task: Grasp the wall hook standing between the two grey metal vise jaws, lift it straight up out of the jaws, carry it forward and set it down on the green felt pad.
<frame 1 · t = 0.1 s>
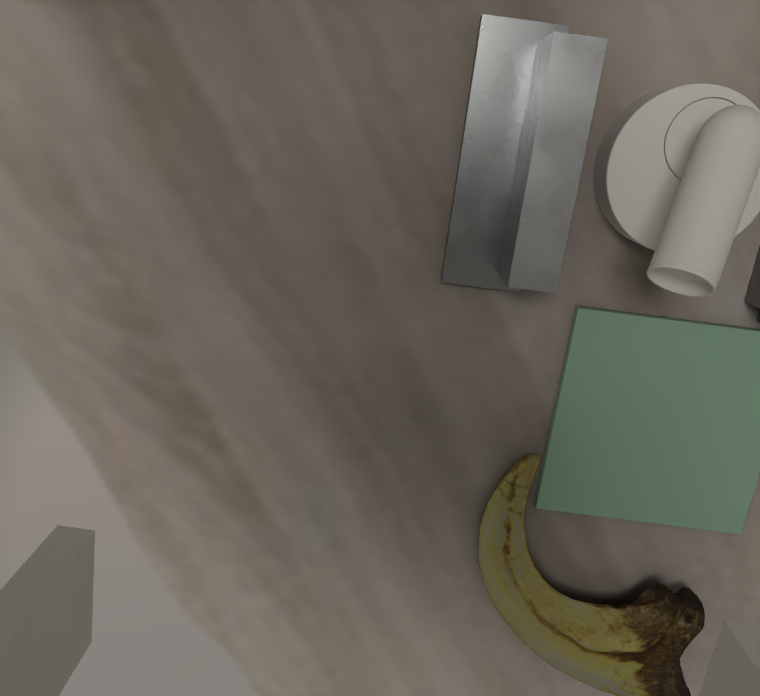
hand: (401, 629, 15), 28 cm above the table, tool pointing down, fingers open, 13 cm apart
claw: (582, 579, 46), on the table, touching felt pad
vise: (666, 181, 39), on the table
felt pad: (659, 422, 43), on the table
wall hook: (664, 181, 39), on the table
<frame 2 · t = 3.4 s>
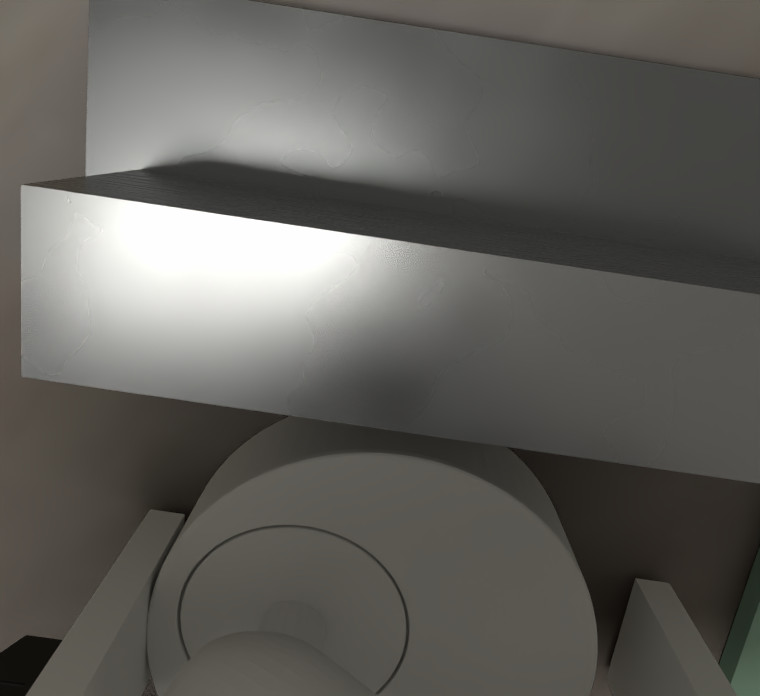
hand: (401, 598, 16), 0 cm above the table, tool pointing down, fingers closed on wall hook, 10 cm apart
vise: (401, 592, 16), on the table
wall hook: (402, 585, 16), on the table, touching gripper
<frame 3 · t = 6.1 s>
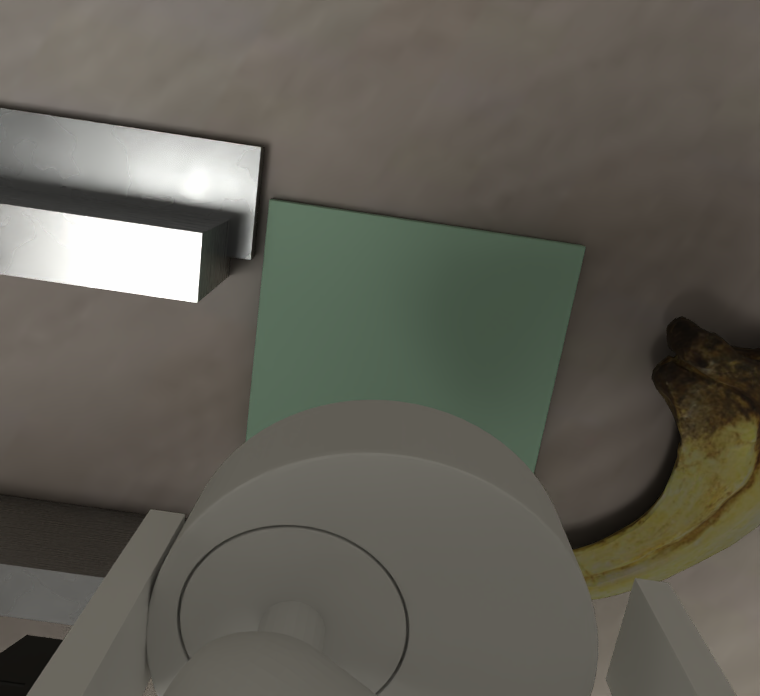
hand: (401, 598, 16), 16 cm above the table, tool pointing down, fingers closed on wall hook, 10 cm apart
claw: (644, 456, 32), on the table, touching felt pad
vise: (84, 387, 32), on the table
felt pad: (403, 369, 31), on the table
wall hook: (402, 585, 16), point 16 cm above the table, touching gripper
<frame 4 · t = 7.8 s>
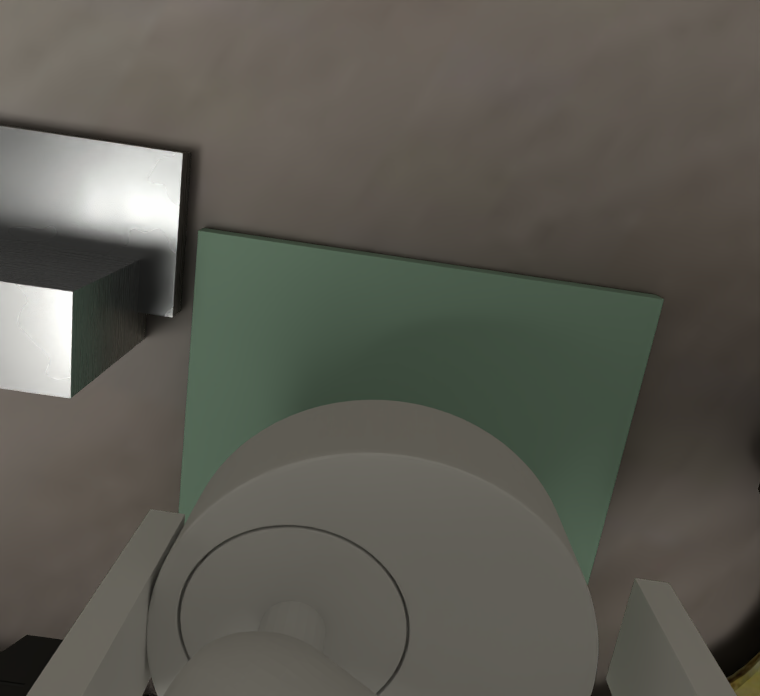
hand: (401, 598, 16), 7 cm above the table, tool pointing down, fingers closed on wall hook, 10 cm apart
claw: (736, 586, 23), on the table, touching felt pad
felt pad: (397, 467, 22), on the table
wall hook: (403, 586, 16), point 6 cm above the table, touching gripper
when the fingers open (2 cm above the table, at t = 9.2 s): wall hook drops 1 cm, resting on felt pad.
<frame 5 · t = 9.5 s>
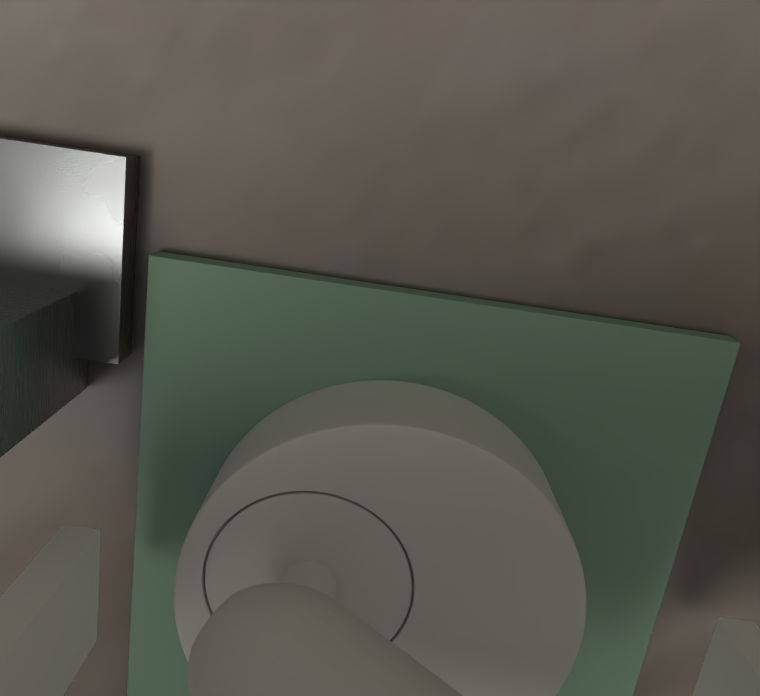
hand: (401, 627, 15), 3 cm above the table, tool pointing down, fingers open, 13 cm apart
felt pad: (401, 544, 18), on the table
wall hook: (407, 554, 17), resting on felt pad
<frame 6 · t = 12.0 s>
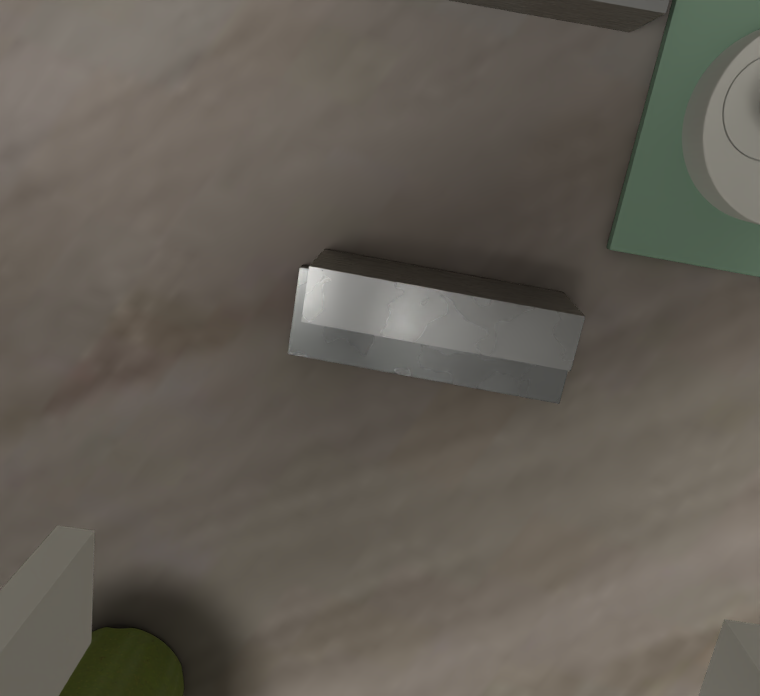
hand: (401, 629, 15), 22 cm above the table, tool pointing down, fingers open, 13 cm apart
vise: (468, 146, 33), on the table
plant pot: (131, 671, 44), on the table
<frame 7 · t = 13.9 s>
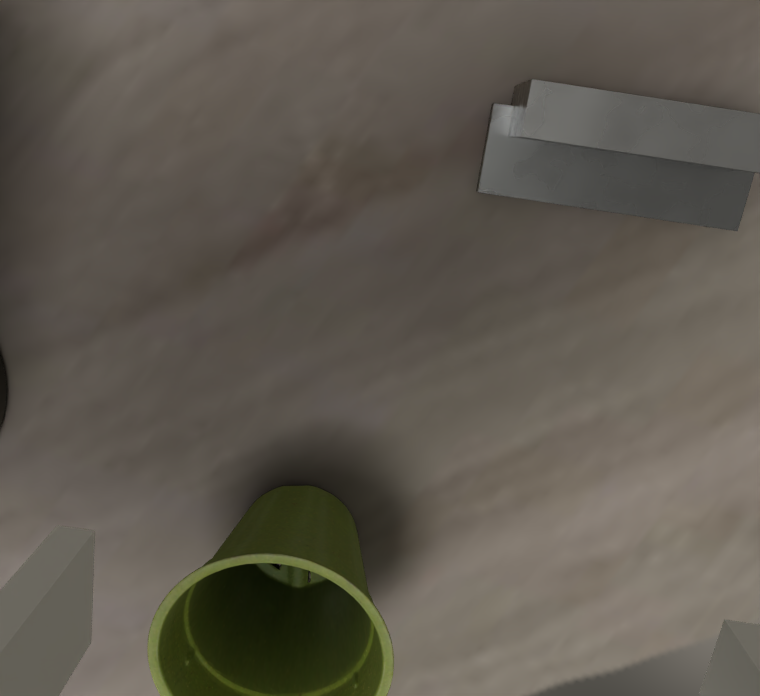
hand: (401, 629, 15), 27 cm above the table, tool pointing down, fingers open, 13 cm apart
plant pot: (301, 533, 45), on the table
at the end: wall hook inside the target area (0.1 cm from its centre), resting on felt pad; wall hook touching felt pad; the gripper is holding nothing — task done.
